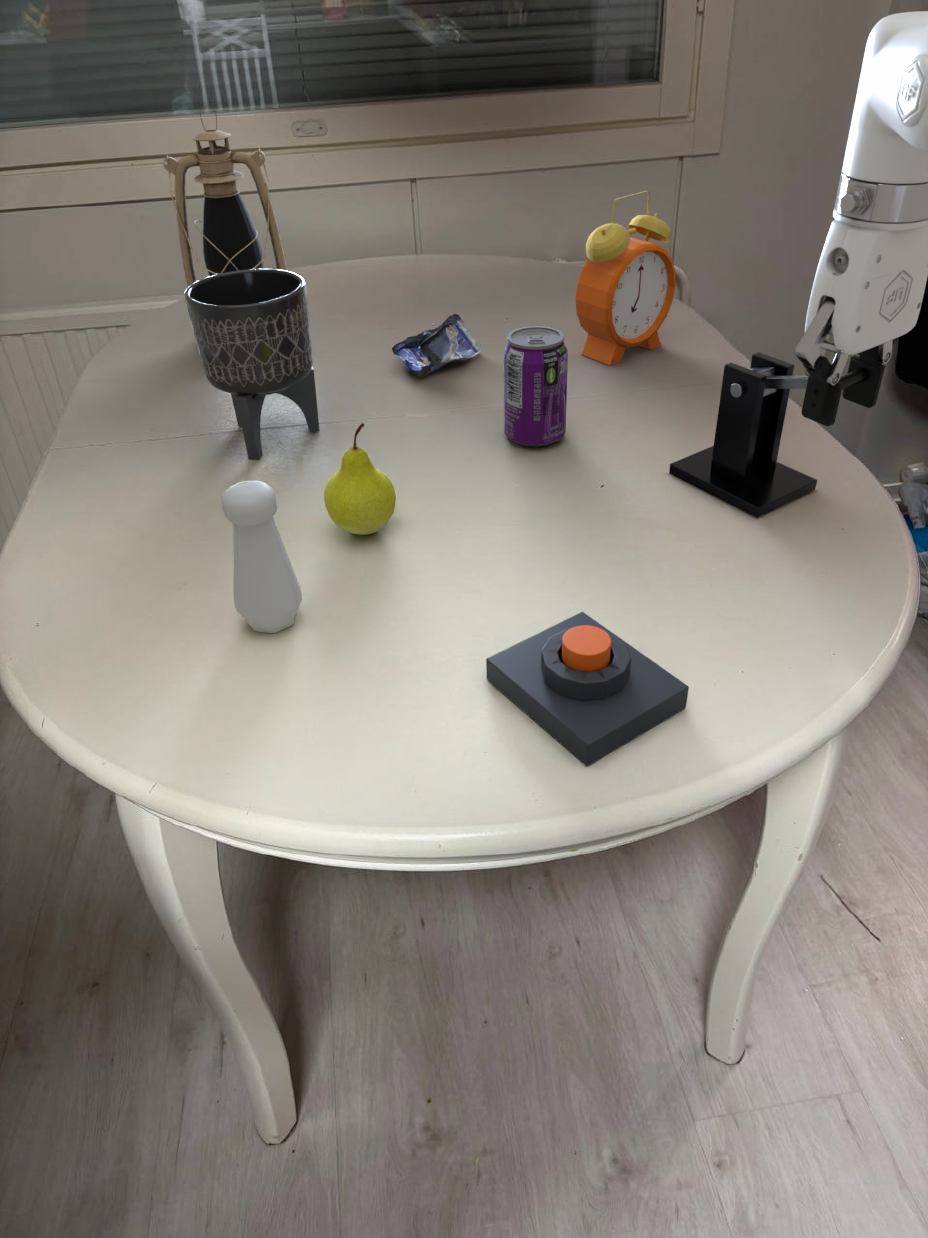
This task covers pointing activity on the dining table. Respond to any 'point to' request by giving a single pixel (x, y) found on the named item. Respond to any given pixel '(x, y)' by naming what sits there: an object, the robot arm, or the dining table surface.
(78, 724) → the dining table surface
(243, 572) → the salt shaker
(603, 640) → the button
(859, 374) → the switch lever
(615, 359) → the alarm clock
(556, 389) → the beverage can
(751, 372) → the switch bracket
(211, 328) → the planter
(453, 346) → the snack package
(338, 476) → the fruit
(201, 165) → the lantern
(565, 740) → the block
